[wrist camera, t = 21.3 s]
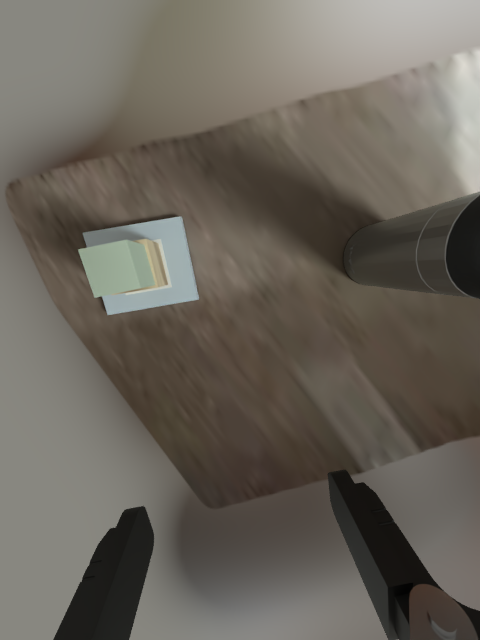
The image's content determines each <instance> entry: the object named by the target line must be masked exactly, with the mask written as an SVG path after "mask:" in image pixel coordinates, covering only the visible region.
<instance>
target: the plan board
mask: <svg viewBox="0 0 480 640" xmlns="http://www.w3.org/2000/svg"><path fill="white" fill-rule="evenodd" d="M83 236H84V240H85V243H86V246H87V248H88V247H93V246H98V245H102V244H107V243H112V242H117V241H122V240H129V241H135V240H141V239H148V240H151V241H154V242H156V243H158V244H159V248H160V252H161V256H162V261H163V265H164V269H165V273H166V277H167V282H168V285H165V286H162V287H158V288H152V289H146V290H140V291H134V292H128V293H123V294H117V295H112V294H110V295H106V296H102V298H103V301H104V305H105V308H106V311H107V314H108V315H111V314H117V313H123V312H129V311H135V310H140V309H146V308H152V307H158V306H164V305H169V304H175V303H181V302H187V301H192V300H198V299H199V296H198V291H197V286H196V281H195V276H194V272H193V267H192V262H191V257H190V253H189V248H188V243H187V238H186V233H185V229H184V224H183V219H182V217H181V216H180V217H174V218H168V219H162V220H156V221H150V222H144V223H138V224H132V225H126V226H120V227H114V228H108V229H102V230H96V231H90V232H84V233H83Z"/></svg>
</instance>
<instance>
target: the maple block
mask: <svg viewBox="0 0 480 640" xmlns="http://www.w3.org/2000/svg"><path fill="white" fill-rule="evenodd" d="M133 242H136V243H140V244H143V245H144V246H145V249H146V253H147V256H148V260H149V264H150V267H151V271H152V274H153V278H154V281H155V285H153V286H149V287H144V288H140V289H135V290H130V291H125V292H120V293H115V294H112V295H117V294H123V293H128V292H134V291H140V290H146V289H152V288H158V287H162V286H165V285H168V282H167V277H166V273H165V269H164V265H163V261H162V256H161V252H160V248H159V244H158V243H156V242H154V241H151V240H148V239H141V240H135V241H133Z"/></svg>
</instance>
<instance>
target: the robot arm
mask: <svg viewBox="0 0 480 640" xmlns="http://www.w3.org/2000/svg"><path fill="white" fill-rule="evenodd" d="M343 261H344V267H345V270H346V272H347V274H348V275H349V277H350V278H351V279H353V280H354V281H355V282H357V283H359V284H362V285H368V286H377V287H384V288H393V289H401V290H410V291H418V292H426V293H435V294H443V295H453V296H461V297H470V298H478V299H480V192H477V193H474V194H471V195H467V196H464V197H461V198H457V199H455V200H451V201H448V202H445V203H442V204H438V205H435V206H432V207H428V208H425V209H422V210H418V211H415V212H412V213H409V214H405V215H402V216H399V217H395V218H392V219H389V220H385V221H382V222H379V223H375V224H372V225H369V226H366V227H364V228H362V229H360V230H358V231H357V232H356V233H355V234H354V235H353V236H352V237H351V238H350V240H349V241H348V243H347V245H346V247H345V251H344V259H343ZM328 481H329V491H330V501H331V505H332V509H333V512H334V515H335V517H336V520H337V522H338V524H339V526H340V529H341V531H342V533H343V536H344V538H345V540H346V543H347V545H348V547H349V550H350V552H351V554H352V556H353V559H354V561H355V564H356V566H357V568H358V570H359V573H360V575H361V577H362V580H363V582H364V584H365V587H366V589H367V591H368V594H369V596H370V598H371V600H372V603H373V605H374V607H375V610H376V612H377V614H378V617H379V619H380V621H381V624H382V626H383V628H384V631H385V633H386V635H387V637H388V640H396V639H399V640H480V611H478V610H475V609H471V608H469V607H467V606H465V605H462V604H461V603H459V602H457V601H456V600H455V599H453V598H452V597H450V596H449V595H448V594H447V593H446V592H444V591H443V590H442V589H441V588H440V587H439V586H438V584H437V583H436V582H435V581H434V580H433V578H432V577H431V576H430V574H429V573H428V571H427V570H426V568H425V567H424V565H423V564H422V562H421V561H420V560H419V558H418V556H417V555H416V553H415V552H414V550H413V549H412V547H411V546H410V544H409V543H408V541H407V539H406V538H405V536H404V535H403V533H402V532H401V530H400V529H399V527H398V526H397V524H395V522H394V520H393V518H392V517H391V515H390V514H389V512H388V511H387V510H386V508H385V506H384V505H383V503H382V502H381V500H380V499H379V497H378V496H377V494H376V493H375V492H374V491H373V490H372V489H370V488H369V487H368V486H367V485H366V484H365V483H357V484H355V483H354V482H353V480H352V478H351V477H350V475H349V473H348V472H347V471H346V470H340V471H334V472H329V473H328ZM153 546H154V533H153V529H152V526H151V523H150V520H149V517H148V514H147V512H146V509H145V507H143V506H141V507H136V508H131V509H126V510H124V512H123V513H122V515H121V517H120V519H119V522H118V524H117V526H116V528H111V529H110V530H109V531H108V532H107V533H106V535H105V536H104V537H103V539H102V540H101V541H100V543H99V544H98V546H97V548H96V550H95V552H94V554H93V556H92V559H91V561H90V565H89V566H88V567H87V569H86V571H85V573H84V576H83V579H82V582H80V584H79V586H78V589H77V590H76V593H75V595H74V597H73V599H72V601H71V603H70V605H69V608H68V610H67V612H66V614H65V616H64V618H63V620H62V623H61V625H60V627H59V629H58V631H57V633H56V635H55V637H54V640H129V638H130V634H131V630H132V627H133V623H134V619H135V615H136V611H137V608H138V604H139V600H140V597H141V593H142V589H143V585H144V582H145V578H146V574H147V570H148V566H149V563H150V559H151V555H152V551H153Z"/></svg>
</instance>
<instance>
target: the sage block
mask: <svg viewBox="0 0 480 640" xmlns="http://www.w3.org/2000/svg"><path fill="white" fill-rule="evenodd" d="M78 251H79V254H80V257H81V260H82V263H83V266H84V268H85V271H86V274H87V277H88V280H89V283H90V286H91V289H92V291H93V294H94V297H95V298H96V297H101V296H106V295H110V294H115V293H120V292H125V291H130V290H135V289H140V288H144V287H149V286H153V285H155V281H154V278H153V274H152V271H151V267H150V264H149V260H148V256H147V253H146V249H145V246H144V245H143V244H140V243H136V242H133V241H129V240H122V241H117V242H112V243H107V244H102V245H98V246H93V247H88V248H83V249H78Z"/></svg>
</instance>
